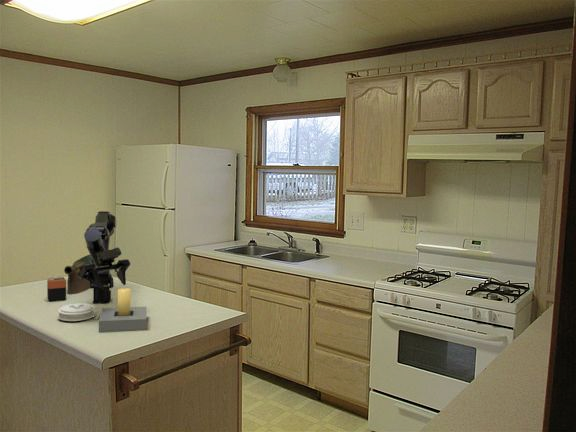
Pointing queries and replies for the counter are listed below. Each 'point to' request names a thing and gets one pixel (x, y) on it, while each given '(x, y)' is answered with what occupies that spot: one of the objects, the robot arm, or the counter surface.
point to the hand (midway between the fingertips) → (114, 286)
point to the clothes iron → (76, 279)
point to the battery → (56, 289)
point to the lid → (76, 312)
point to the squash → (85, 260)
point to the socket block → (122, 320)
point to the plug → (124, 302)
